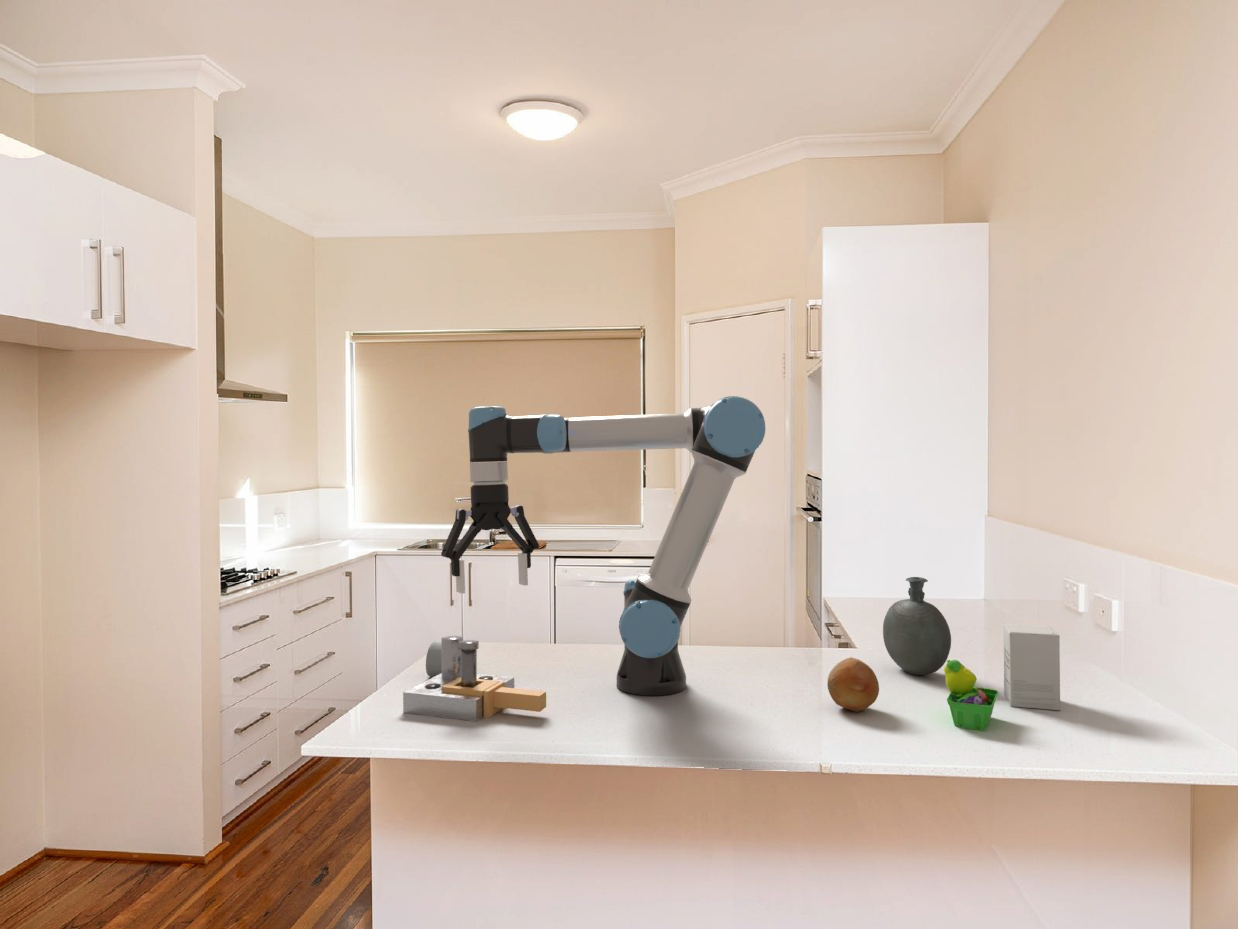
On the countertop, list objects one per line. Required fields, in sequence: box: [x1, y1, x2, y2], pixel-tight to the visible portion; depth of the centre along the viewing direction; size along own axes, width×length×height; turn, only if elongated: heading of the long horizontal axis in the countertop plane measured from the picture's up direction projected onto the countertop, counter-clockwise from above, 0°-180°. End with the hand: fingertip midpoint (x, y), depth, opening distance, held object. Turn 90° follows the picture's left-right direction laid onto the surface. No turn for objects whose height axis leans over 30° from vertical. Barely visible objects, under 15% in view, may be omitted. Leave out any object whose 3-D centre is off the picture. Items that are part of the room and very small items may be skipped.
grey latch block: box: [402, 635, 515, 722], centre depth 156 cm, size 16×16×12 cm
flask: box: [882, 576, 952, 676], centre depth 177 cm, size 12×17×22 cm
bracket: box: [442, 677, 547, 718], centre depth 151 cm, size 20×7×5 cm, turn 71°
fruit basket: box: [943, 659, 999, 732], centre depth 145 cm, size 11×9×11 cm
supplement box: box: [1003, 623, 1061, 711], centre depth 156 cm, size 9×9×15 cm
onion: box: [827, 657, 880, 713], centre depth 152 cm, size 10×10×10 cm
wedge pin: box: [459, 639, 480, 688], centre depth 153 cm, size 4×4×13 cm
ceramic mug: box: [425, 641, 442, 678], centre depth 177 cm, size 11×8×8 cm
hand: (492, 588), depth 156 cm, fingers open, 13 cm apart
